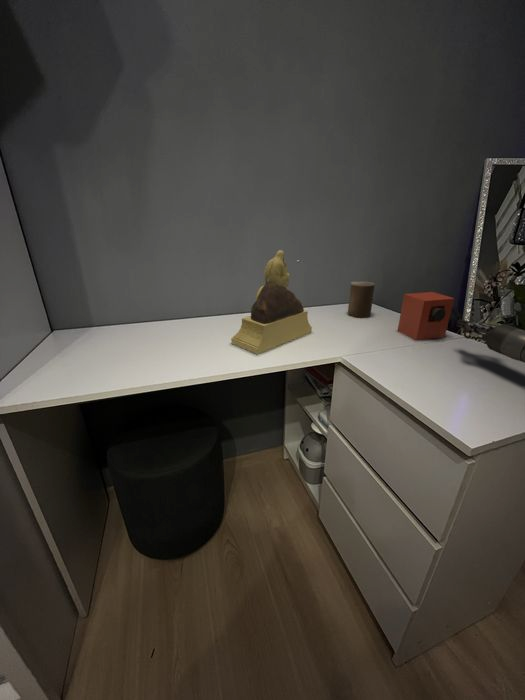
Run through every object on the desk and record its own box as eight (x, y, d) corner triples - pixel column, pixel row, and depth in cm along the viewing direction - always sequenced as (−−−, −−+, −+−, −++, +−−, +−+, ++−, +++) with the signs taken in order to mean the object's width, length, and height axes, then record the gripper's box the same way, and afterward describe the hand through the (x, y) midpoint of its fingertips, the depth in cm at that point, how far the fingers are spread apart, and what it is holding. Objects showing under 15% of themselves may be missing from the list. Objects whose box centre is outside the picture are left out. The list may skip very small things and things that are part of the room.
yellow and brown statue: (285, 324, 120) (287, 246, 108) (311, 332, 112) (316, 248, 100) (231, 343, 103) (226, 252, 90) (257, 354, 94) (255, 255, 82)
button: (443, 321, 101) (447, 308, 99) (432, 322, 100) (435, 309, 98) (439, 319, 103) (442, 307, 101) (428, 320, 102) (431, 308, 100)
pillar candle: (367, 319, 125) (372, 283, 119) (344, 315, 130) (348, 281, 124) (372, 313, 133) (377, 279, 127) (351, 310, 138) (354, 277, 131)
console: (444, 336, 106) (454, 298, 101) (415, 340, 104) (424, 300, 98) (424, 327, 115) (432, 291, 109) (397, 330, 112) (404, 294, 107)
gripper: (489, 359, 78) (438, 335, 93) (528, 353, 81) (472, 331, 96) (498, 332, 75) (444, 312, 90) (538, 327, 77) (479, 309, 93)
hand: (459, 322), depth 93 cm, fingers closed
